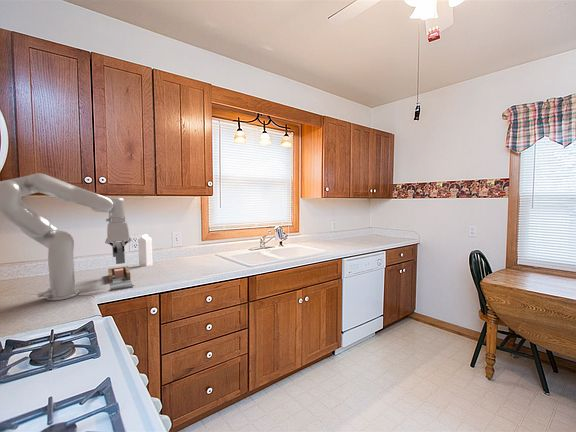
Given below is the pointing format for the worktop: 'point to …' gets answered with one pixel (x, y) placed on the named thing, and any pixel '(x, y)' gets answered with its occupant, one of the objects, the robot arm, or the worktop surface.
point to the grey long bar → (119, 253)
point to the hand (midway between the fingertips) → (119, 253)
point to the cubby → (119, 279)
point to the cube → (119, 273)
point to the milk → (145, 251)
